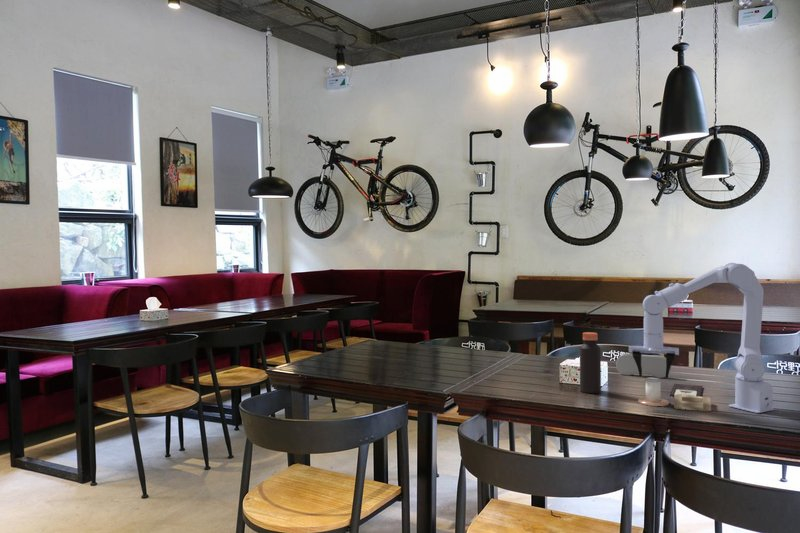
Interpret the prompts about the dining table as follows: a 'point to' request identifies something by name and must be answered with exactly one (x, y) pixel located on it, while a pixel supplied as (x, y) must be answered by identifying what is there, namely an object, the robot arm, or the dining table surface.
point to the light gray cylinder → (653, 390)
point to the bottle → (590, 364)
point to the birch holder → (692, 403)
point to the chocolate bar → (686, 390)
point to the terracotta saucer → (662, 403)
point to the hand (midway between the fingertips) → (653, 376)
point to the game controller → (649, 364)
